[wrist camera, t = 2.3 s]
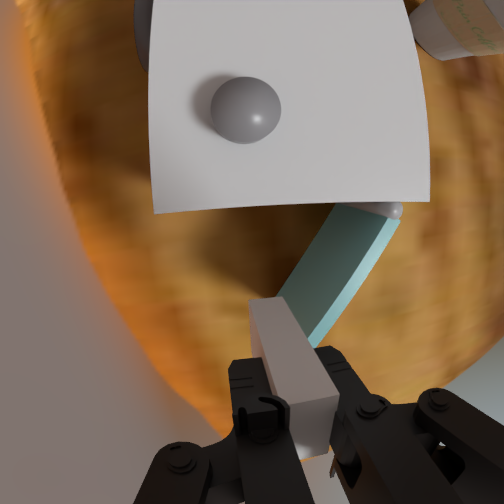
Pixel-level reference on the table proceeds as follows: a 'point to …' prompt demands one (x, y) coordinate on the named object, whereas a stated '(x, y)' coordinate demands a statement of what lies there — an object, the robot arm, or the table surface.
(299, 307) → the side door
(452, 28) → the coffee cup
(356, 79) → the cabinet body
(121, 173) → the table surface
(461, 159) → the table surface
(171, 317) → the table surface
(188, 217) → the table surface
